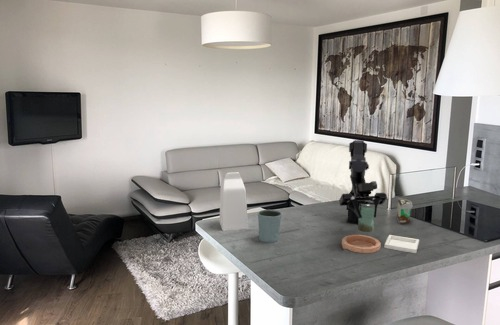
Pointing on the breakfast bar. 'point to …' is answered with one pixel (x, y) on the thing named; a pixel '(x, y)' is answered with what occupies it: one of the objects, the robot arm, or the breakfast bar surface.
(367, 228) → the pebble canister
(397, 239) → the tray
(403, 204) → the food container
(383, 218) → the breakfast bar surface
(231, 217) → the milk
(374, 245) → the bowl
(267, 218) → the blue-grey cup
